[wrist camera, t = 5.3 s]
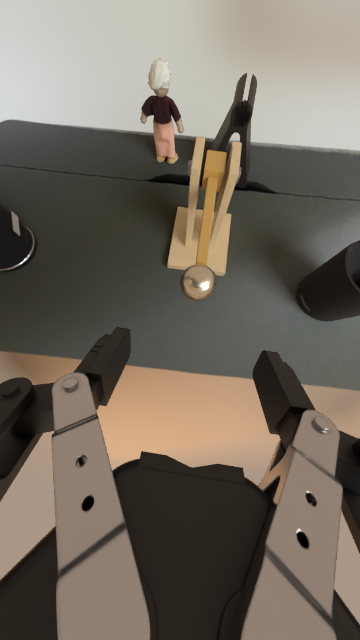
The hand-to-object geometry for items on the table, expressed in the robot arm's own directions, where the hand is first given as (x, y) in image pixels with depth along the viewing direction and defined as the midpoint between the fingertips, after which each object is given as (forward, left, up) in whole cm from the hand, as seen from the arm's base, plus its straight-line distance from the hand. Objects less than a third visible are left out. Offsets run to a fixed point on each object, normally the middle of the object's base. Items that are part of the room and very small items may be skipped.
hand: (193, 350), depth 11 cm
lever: (+6, +12, -7) cm, 16 cm away
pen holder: (+26, +3, -19) cm, 32 cm away
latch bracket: (+9, +19, -19) cm, 28 cm away
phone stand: (+19, +33, -19) cm, 42 cm away
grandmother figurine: (+8, +40, -19) cm, 45 cm away
